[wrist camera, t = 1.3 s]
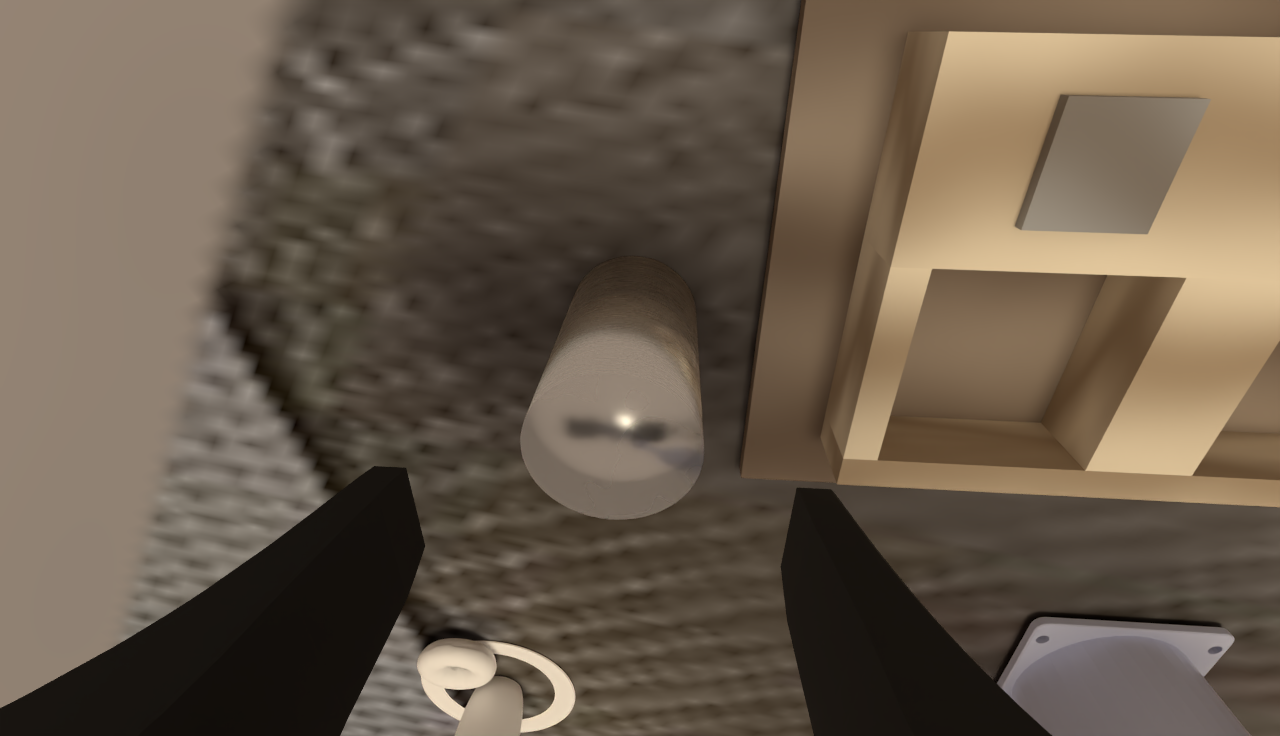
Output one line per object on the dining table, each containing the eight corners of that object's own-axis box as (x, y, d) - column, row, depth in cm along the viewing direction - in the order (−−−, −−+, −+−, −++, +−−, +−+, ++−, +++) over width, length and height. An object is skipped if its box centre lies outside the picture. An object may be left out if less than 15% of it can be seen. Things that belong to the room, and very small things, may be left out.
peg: (692, 371, 19) (697, 524, 13) (574, 366, 20) (527, 514, 14) (700, 258, 17) (711, 377, 11) (569, 253, 18) (511, 368, 12)
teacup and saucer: (412, 614, 28) (373, 699, 24) (576, 629, 27) (561, 716, 24) (435, 715, 32) (405, 799, 29) (576, 728, 32) (564, 814, 28)
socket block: (1362, 498, 20) (1473, 573, 18) (739, 467, 21) (748, 533, 19) (1847, -60, 12) (2196, -88, 10) (810, -71, 13) (847, -100, 10)
